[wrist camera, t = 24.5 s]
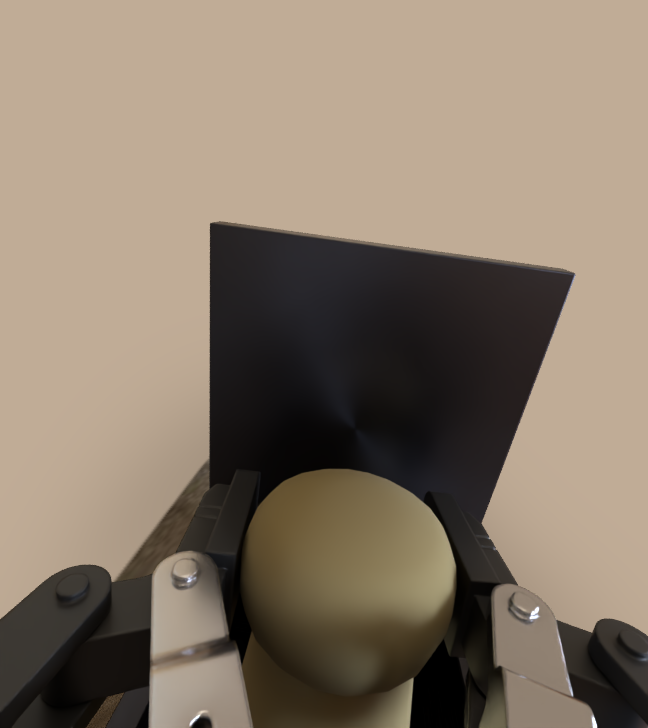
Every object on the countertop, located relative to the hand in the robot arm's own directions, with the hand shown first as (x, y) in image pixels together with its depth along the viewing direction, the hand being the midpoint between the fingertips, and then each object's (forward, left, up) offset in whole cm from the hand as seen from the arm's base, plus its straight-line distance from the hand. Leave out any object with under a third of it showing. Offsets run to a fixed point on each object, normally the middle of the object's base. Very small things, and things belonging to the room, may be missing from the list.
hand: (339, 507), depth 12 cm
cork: (-2, -2, -9) cm, 10 cm away
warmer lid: (+2, +1, +2) cm, 3 cm away
